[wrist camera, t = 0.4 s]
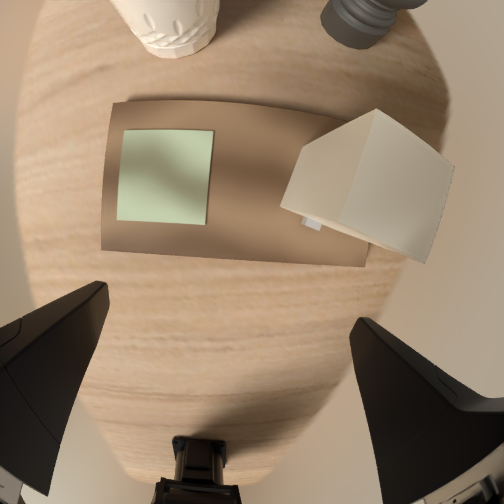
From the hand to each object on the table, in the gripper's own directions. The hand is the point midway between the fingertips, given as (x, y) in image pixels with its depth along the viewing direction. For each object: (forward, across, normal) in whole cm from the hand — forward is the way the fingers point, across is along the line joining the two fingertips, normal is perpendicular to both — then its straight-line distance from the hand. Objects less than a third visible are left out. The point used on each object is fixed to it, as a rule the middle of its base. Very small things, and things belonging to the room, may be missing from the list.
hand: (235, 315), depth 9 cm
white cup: (+18, +8, -15) cm, 24 cm away
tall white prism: (+13, -6, -2) cm, 15 cm away
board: (+14, 0, -2) cm, 15 cm away
